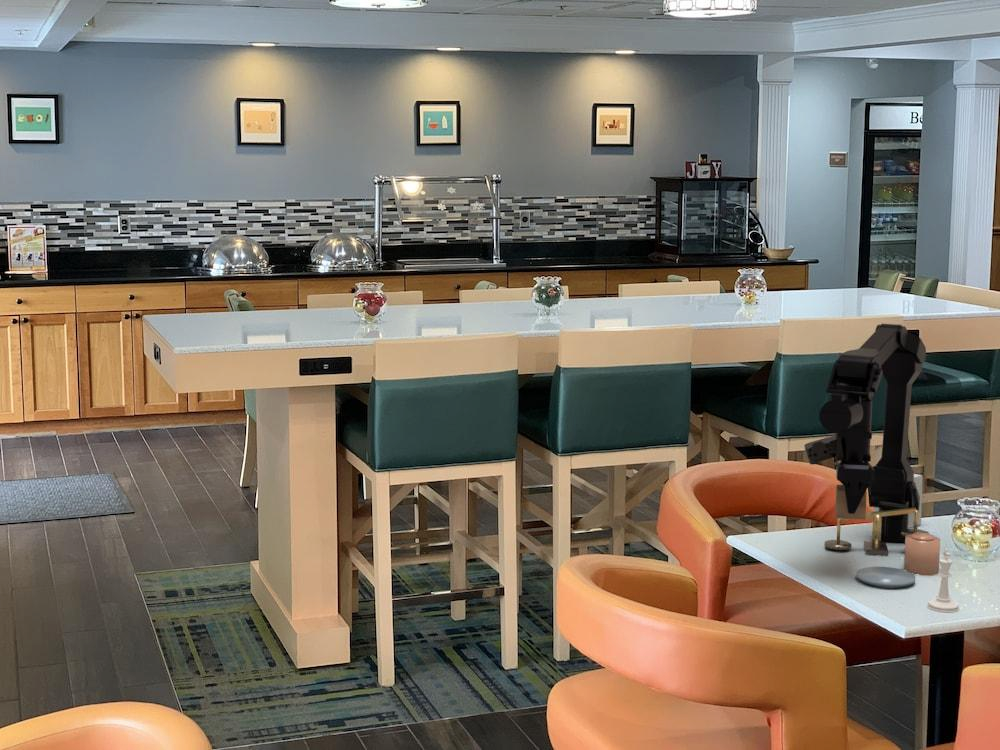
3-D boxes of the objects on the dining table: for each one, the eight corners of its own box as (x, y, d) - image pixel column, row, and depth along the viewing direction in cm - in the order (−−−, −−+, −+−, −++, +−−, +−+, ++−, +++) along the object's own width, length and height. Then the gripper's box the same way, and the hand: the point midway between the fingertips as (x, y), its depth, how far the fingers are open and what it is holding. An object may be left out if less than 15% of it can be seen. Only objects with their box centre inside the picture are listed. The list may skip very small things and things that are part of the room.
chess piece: (938, 613, 211) (942, 554, 210) (921, 604, 216) (924, 546, 214) (965, 611, 212) (968, 552, 211) (947, 601, 217) (950, 543, 216)
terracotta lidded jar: (902, 564, 238) (903, 530, 237) (936, 566, 237) (938, 532, 236) (905, 574, 232) (907, 539, 231) (940, 576, 231) (942, 541, 230)
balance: (823, 544, 251) (825, 499, 250) (925, 549, 248) (928, 504, 246) (825, 552, 246) (827, 507, 244) (929, 558, 242) (932, 512, 241)
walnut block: (835, 511, 236) (836, 484, 236) (863, 512, 235) (864, 486, 235) (836, 518, 232) (837, 490, 231) (865, 519, 231) (866, 492, 230)
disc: (853, 570, 234) (854, 565, 234) (911, 574, 232) (911, 568, 232) (858, 587, 224) (858, 581, 224) (918, 591, 222) (918, 585, 222)
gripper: (807, 413, 242) (803, 495, 244) (809, 432, 224) (805, 520, 226) (868, 416, 240) (864, 498, 242) (876, 435, 221) (872, 523, 224)
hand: (850, 509), depth 233 cm, fingers closed on walnut block, 5 cm apart
